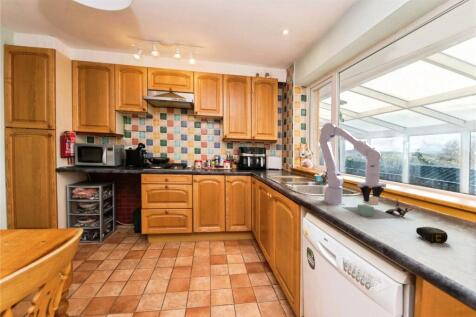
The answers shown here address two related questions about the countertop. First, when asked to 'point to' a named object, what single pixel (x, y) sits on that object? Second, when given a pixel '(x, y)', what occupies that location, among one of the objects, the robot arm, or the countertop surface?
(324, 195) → the robot arm
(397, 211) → the eagle figurine
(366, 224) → the countertop surface
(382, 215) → the build mat
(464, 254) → the countertop surface
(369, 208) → the teal brick
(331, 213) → the countertop surface
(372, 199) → the cream brick
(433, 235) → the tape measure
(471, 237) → the countertop surface
